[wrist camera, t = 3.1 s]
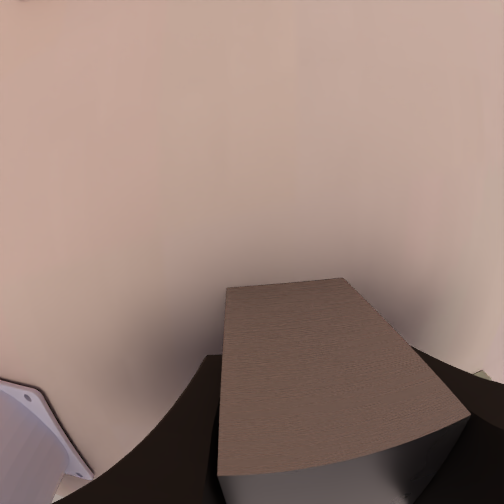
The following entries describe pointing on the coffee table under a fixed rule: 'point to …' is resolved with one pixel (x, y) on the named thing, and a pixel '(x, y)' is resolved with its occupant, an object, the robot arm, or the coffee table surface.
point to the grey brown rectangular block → (326, 401)
